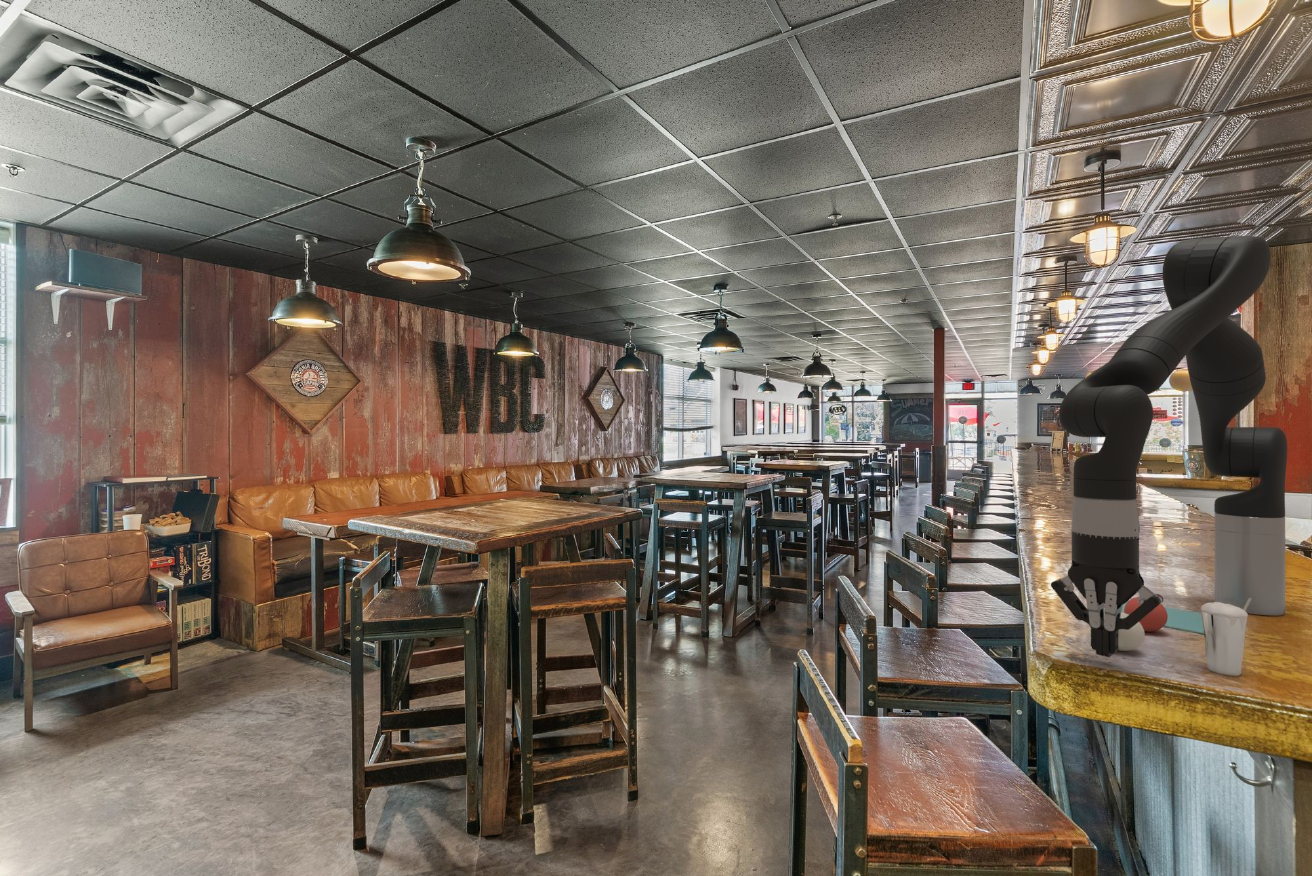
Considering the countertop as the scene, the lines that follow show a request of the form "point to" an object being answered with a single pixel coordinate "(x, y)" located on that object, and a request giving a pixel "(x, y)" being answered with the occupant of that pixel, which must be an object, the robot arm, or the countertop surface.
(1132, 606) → the ball
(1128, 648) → the ball
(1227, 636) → the milkshake
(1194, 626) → the mark
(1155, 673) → the countertop surface
